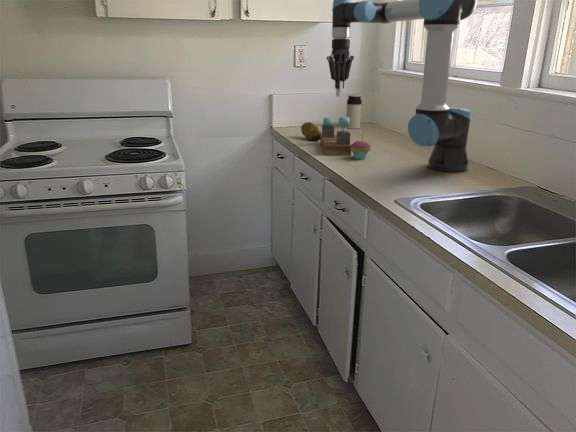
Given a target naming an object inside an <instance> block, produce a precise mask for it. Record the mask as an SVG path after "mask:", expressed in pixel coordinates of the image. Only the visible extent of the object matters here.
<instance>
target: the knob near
mask: <svg viewBox="0 0 576 432" xmlns="http://www.w3.org/2000/svg"><path fill="white" fill-rule="evenodd" d="M349 122H350V118H349V117H346V116H340V117H338V126H341V131H342V133H346V131H347V128H346V126H348V125H349Z"/></svg>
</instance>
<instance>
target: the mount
mask: <svg viewBox="0 0 576 432" xmlns="http://www.w3.org/2000/svg"><path fill="white" fill-rule="evenodd" d="M321 133H322V134H320V140H319V143H320V146H321V147H322V150H323V152H324V155H325V156H352V151H351V149H350V147H351V144H352V143H351V132H350V131H349V130H346V133H342V130H337V131H336V133H335V125H334V124H333V126H324V125H323V124H321Z"/></svg>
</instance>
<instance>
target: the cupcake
mask: <svg viewBox="0 0 576 432" xmlns="http://www.w3.org/2000/svg"><path fill="white" fill-rule="evenodd" d="M364 136H365V129H364V128H363V130H362V133H361V140H357V141H354V142H353V143H350V144H351V147H350V149H351V153H352V154H353V158H354V159H355V160H365V159H366V158H367V154H368V153H369V152H370V151H371V144H370V143H369V142H367V141H364Z"/></svg>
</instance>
